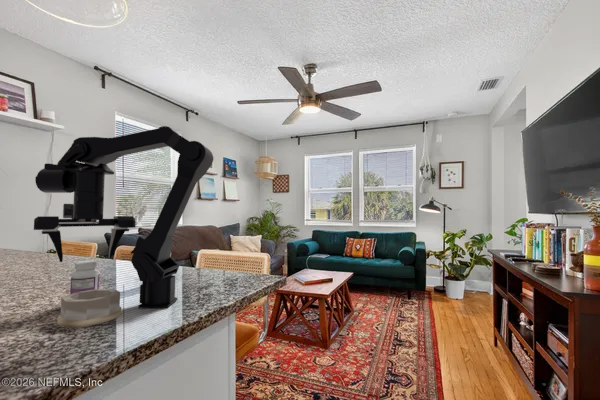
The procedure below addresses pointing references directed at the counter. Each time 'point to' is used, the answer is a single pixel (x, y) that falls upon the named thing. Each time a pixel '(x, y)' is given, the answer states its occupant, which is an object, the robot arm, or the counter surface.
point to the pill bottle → (84, 277)
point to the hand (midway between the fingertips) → (86, 259)
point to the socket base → (89, 308)
